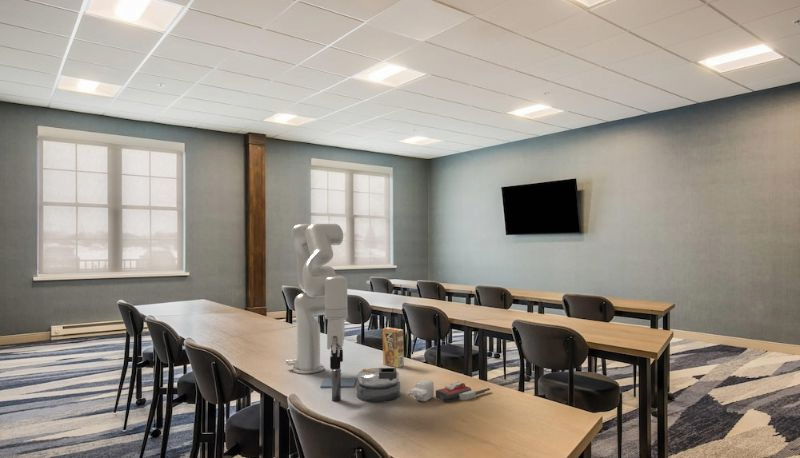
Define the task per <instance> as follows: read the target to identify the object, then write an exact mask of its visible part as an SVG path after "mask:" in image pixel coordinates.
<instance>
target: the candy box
mask: <svg viewBox="0 0 800 458" xmlns="http://www.w3.org/2000/svg"><path fill="white" fill-rule="evenodd" d="M381 329H382V364H383V365H386V366H389V367H390V366H391V367H393V368H401V367H403V366H405V362H404V361H405V358H404V357H405V354H404V353H405V352H404V329H401V328H395V327H385V328H381Z"/></svg>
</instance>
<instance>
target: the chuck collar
mask: <svg viewBox="0 0 800 458" xmlns="http://www.w3.org/2000/svg"><path fill="white" fill-rule="evenodd" d="M399 373H400V372H399V371H398V370H397V367H375V368H374V367H371V368H363V369H362V370H360V371H359V372H358V373H357V382H358V385H360V386H361V387H364V388H370V389H384V388H390V387H394V386H396V385H397V384H398V383H399V382H400V378H399V377H400V376H399V375H400V374H399Z"/></svg>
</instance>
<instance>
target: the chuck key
mask: <svg viewBox="0 0 800 458" xmlns="http://www.w3.org/2000/svg"><path fill="white" fill-rule="evenodd" d="M331 378H332V388H331V401H332V402H340V401H342V387H341V378H342V370H341V368H340V369H331Z"/></svg>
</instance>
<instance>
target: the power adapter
mask: <svg viewBox="0 0 800 458" xmlns="http://www.w3.org/2000/svg"><path fill="white" fill-rule="evenodd" d="M434 385H435V384H434V381H433V380H430V379H422V380H420V381H417V382H416V385H415V387H414V388H411V390H410V392H408V393H407V394H406V395H407V396H408V397H409V396H413V397H414V398H415V399H416V400H417V401H420V402H428V401H429V400H431V399H433V398H434V393H435V392H434V389H435V387H434Z"/></svg>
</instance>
